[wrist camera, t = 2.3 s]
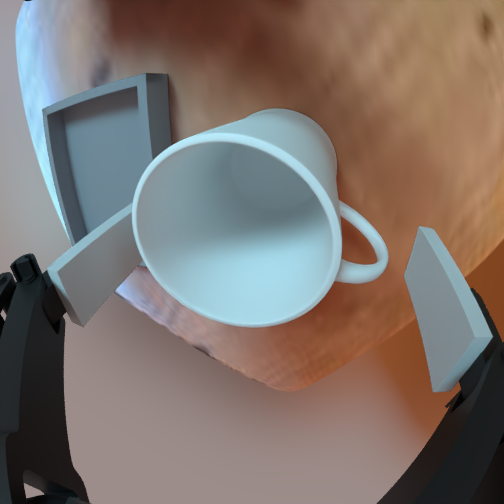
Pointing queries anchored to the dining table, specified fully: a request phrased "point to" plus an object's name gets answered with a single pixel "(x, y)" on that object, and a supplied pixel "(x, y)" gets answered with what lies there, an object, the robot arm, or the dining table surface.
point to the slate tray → (105, 147)
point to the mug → (249, 220)
